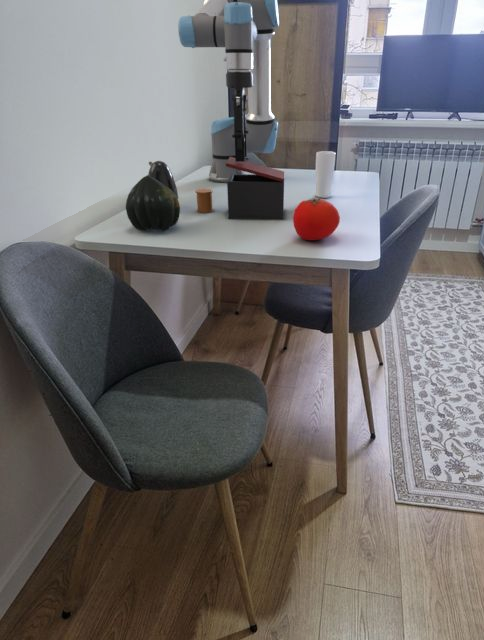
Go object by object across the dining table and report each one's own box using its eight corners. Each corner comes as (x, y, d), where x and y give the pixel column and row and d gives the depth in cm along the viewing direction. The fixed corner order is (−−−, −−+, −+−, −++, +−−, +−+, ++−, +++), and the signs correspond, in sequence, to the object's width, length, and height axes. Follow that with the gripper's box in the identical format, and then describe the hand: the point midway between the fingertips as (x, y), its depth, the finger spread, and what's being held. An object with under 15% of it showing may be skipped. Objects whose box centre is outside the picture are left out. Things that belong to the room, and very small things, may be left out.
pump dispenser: (167, 204, 163) (162, 156, 155) (185, 209, 156) (181, 160, 148) (141, 209, 156) (135, 160, 149) (159, 215, 150) (153, 164, 142)
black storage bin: (228, 218, 147) (227, 181, 141) (232, 209, 157) (230, 174, 152) (283, 219, 147) (284, 182, 141) (283, 209, 157) (284, 174, 151)
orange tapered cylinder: (198, 208, 158) (196, 188, 154) (214, 209, 157) (213, 188, 154) (195, 213, 153) (194, 192, 150) (212, 213, 153) (211, 192, 149)
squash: (159, 220, 125) (171, 169, 128) (110, 218, 130) (122, 168, 132) (181, 243, 139) (191, 196, 142) (136, 240, 143) (146, 195, 146)
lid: (225, 166, 139) (231, 137, 135) (229, 159, 150) (234, 132, 146) (283, 182, 141) (291, 154, 137) (283, 174, 151) (290, 148, 147)
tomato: (304, 229, 138) (306, 191, 132) (344, 235, 132) (348, 196, 127) (282, 241, 128) (283, 201, 122) (325, 249, 122) (327, 207, 117)
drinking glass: (331, 199, 169) (335, 154, 162) (312, 198, 170) (315, 153, 163) (333, 194, 175) (336, 151, 167) (314, 194, 176) (317, 150, 168)
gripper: (229, 71, 141) (232, 153, 152) (221, 71, 124) (225, 164, 135) (254, 71, 140) (255, 154, 152) (250, 71, 123) (251, 165, 135)
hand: (241, 159), depth 144 cm, fingers closed on lid, 7 cm apart
